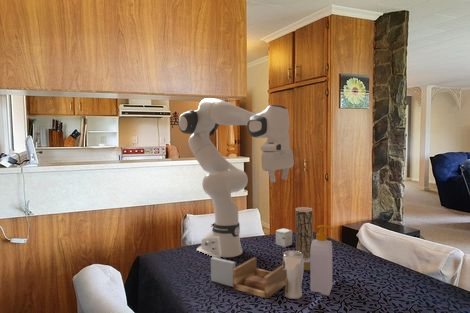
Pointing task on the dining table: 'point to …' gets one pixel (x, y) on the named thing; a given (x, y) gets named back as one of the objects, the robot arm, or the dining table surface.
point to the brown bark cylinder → (304, 233)
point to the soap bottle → (321, 263)
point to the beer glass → (293, 273)
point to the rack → (271, 279)
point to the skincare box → (284, 237)
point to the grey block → (222, 271)
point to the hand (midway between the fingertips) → (279, 180)
